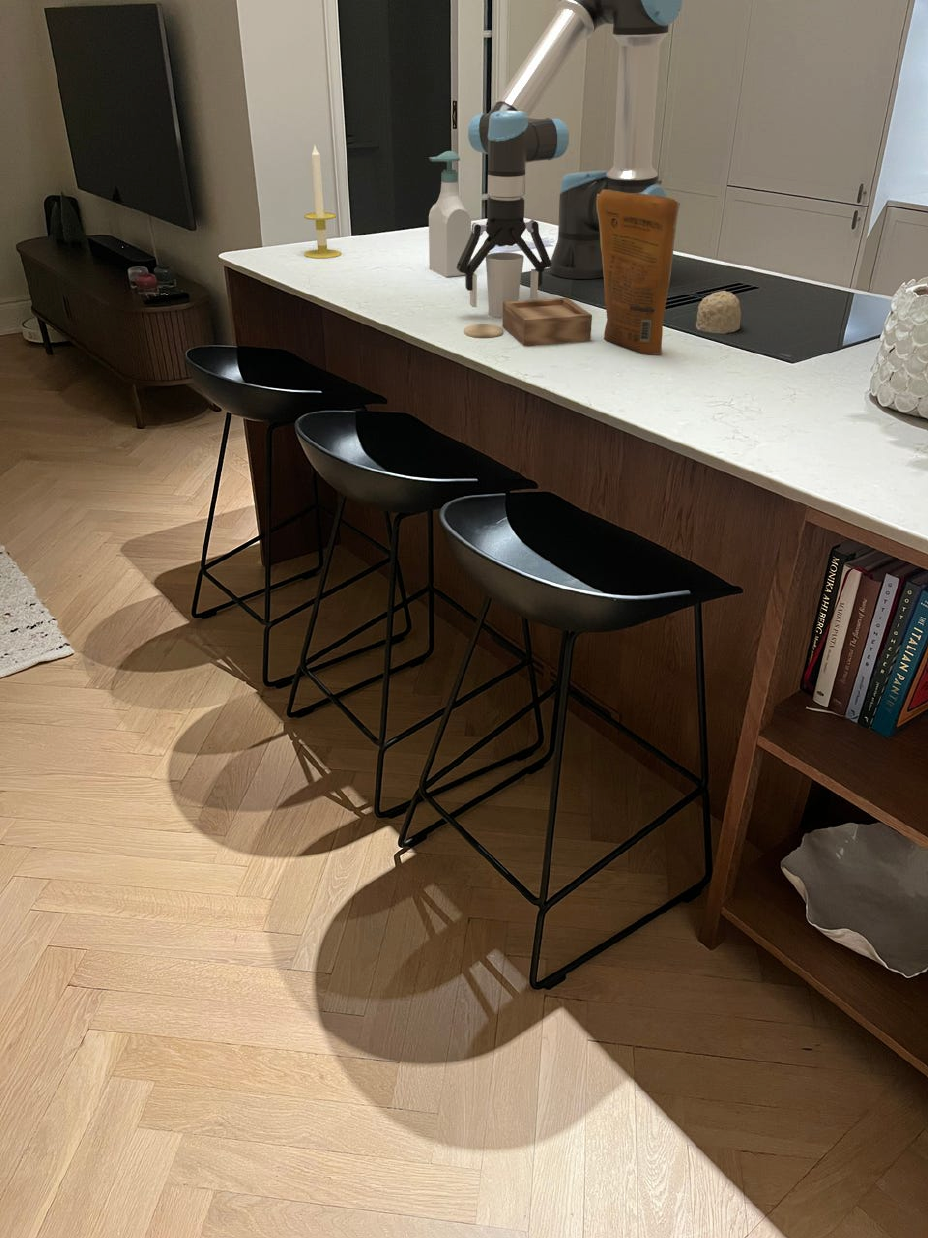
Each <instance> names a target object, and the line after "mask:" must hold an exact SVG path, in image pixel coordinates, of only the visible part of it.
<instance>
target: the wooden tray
mask: <svg viewBox="0 0 928 1238" xmlns="http://www.w3.org/2000/svg"><path fill="white" fill-rule="evenodd" d="M592 320H593V314H592V313H590V312H588V311H587V310H586V309H584V308H583V307H581V306H580V305H578V304H576V303H575V302H574V301H573V300H571V299H570V298H569V297H557V298H556V297H554V298H542V299H537V300H530V299H528V300H527V299H525V300H519V301H510V302H503V318H502V323H501V324H502V326H501V327H502V328H503V329H504V330H505V331H507V333H509V334H510V335H511V336H512V337H514V339H516V340H517V341H518V342H519V343H520V345H522V346H523V347H524V346H526V347H528V346H539V345H551V344H564V343H575V342H577V343H578V342H588V341H591V336H592V322H593V321H592Z"/></svg>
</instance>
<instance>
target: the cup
mask: <svg viewBox="0 0 928 1238" xmlns="http://www.w3.org/2000/svg"><path fill="white" fill-rule="evenodd" d="M524 259H525V257H524V255H523V254H521V253H517V252H508V251H507V252H505V251H504V252H491V253H488V255H487V256H486V257H485V267H486V281H487V298H488V299H487V301H488V316H489V317H491V318H495V319H503V302H510V301H520V300H519V299H520V290H521V282H522V281H521V280H522V273H523V267H524V266H523V265H524Z"/></svg>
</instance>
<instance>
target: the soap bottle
mask: <svg viewBox="0 0 928 1238" xmlns="http://www.w3.org/2000/svg"><path fill="white" fill-rule="evenodd" d="M428 159H429V161H431V162H433V163H434V162H446V169H443V170H442V172H441V174H440V175H441V181H440V183H441V184H440V193H439V195H438V198H437V201H436V203H434V204H433V205H432V207H431V208H430V210H429V215H428V240H429V241H428V242H429V243H428V246H429V249H428V251H429V253H428V254H429V269H430V268H431V269H430V270H432V269H433V270H432V271H434V272H435V271H436V272H435V273H437V272H438V273H437V274H439V273H440V274H439V275H441V276H443V277H445V278H453V277H462V276H465V273H461V272H460V271H459V270H458V269H457V264H458V262H459V260H460V258H461V256H462V253H463V251H464V249H465V247H466V244H467V242H468V240H469V238H470V236H471V231H472V219H471V216H470V215H469V213H468V212H467V210H466V209H465V206H464V204H463V201H462V199H461V196H460V192H459V191H460V190H459V182H458V181H459V180H458V179H459V178H458V174H459V173H458V171H456V169H453V162H459V161H461V157H460V156H459V155H458V154H457V153H456V152H455V151H452V150H447V151H444V152H442V153H440V154H439V155H437V156H433V157H431V156H430V157H428ZM471 260H472V257H471V258H470V261H471ZM470 261H469V263H470ZM469 263H468V264H469Z"/></svg>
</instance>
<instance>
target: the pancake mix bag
mask: <svg viewBox="0 0 928 1238" xmlns="http://www.w3.org/2000/svg"><path fill="white" fill-rule="evenodd" d="M596 206H597V213H598V219H599V228H600V242H601V251H602V262H603V273H604V277H603V283H604V302H605V310H606V319H607V321H606V324H605V328H604V334H603V336H604V337H603V340H604V341H606V342H608V343H611V344H615V345H617V346H621V347H624V348H626V349H629V350H631V351H633V352H636V353H639V354H642V355H643V354H644V355H663V334H664V333H663V330H664V329H663V328H664V327H663V325H664V319H665V318H664V317H665V312H666V307H667V306H666V305H667V304H666V303H667V299H668V292H669V286H670V282H671V275H672V274H671V273H672V263H673V258H674V255H673V254H674V245H675V239H676V234H677V233H676V232H677V224H678V223H677V222H678V216H679V215H678V214H679V210H680V206H681V203H680V202H678V201H676V200H675V199H674V198H671V197H667V196H666V197H662V196H656V195H649V194H640V193H624V192H619V191H612V190H602V191H601V193H600V195H599V194H597V200H596Z"/></svg>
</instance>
